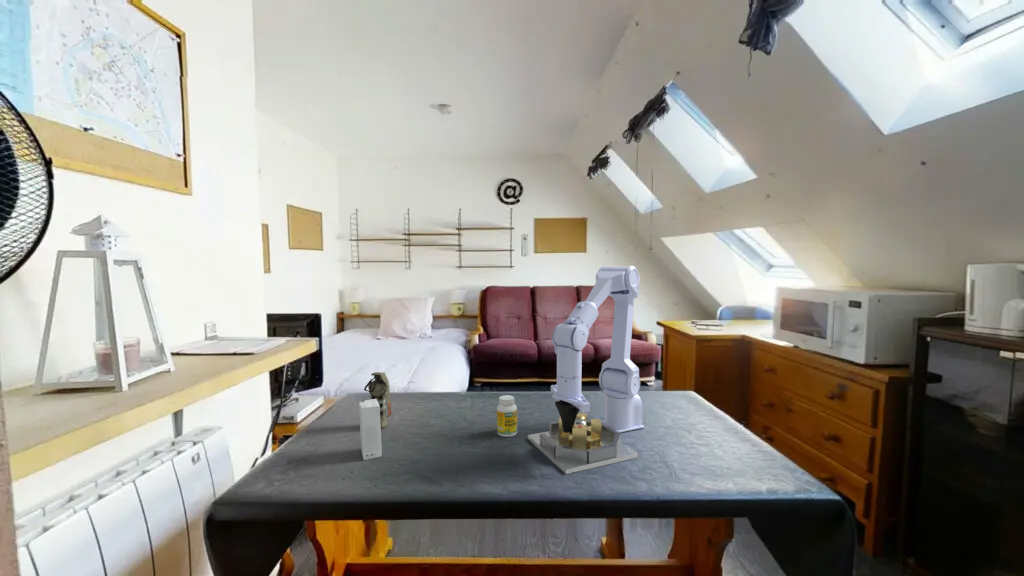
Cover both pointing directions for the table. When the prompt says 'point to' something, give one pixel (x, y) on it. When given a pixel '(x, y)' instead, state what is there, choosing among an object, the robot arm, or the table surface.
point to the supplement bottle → (506, 416)
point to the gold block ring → (581, 434)
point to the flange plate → (579, 465)
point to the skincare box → (370, 429)
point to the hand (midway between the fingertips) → (568, 432)
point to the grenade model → (380, 395)
